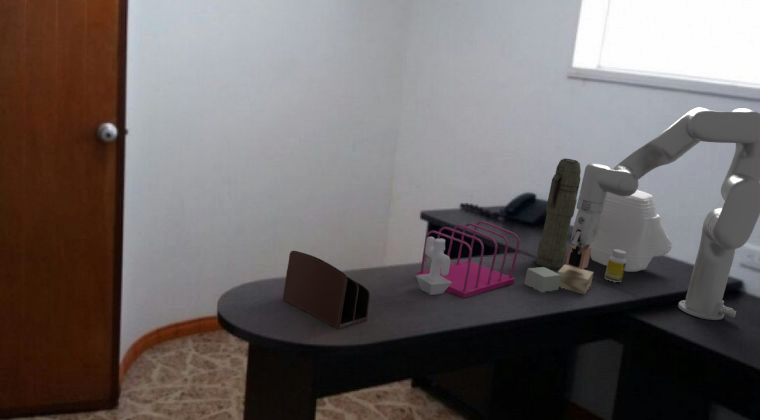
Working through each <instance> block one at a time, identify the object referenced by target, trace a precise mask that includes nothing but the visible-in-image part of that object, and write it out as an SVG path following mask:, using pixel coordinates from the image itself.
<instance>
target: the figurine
mask: <svg viewBox="0 0 760 420" xmlns="http://www.w3.org/2000/svg"><path fill="white" fill-rule="evenodd" d="M445 250H446V239H445V238H441V237H440V239H437V238H435V237H434V236H428V238H427V241H426V247H425V257H427V258H430V259H431V262H430V269H429V270H430V273H429V274H422V275H417V274H415V278H416V280H417V283H418V286H419V288H420V290H421V291H423V292H425V293H427V294H428V295H430V296H431V295H432V296H433V295H441V294H444V293H445V291H446V289H447V288H448V287H449V286H450V284H451V283H452V282H451V281H449V280H447V279H445V278H444V277H442V276H440V270H441V275H444V276H446V275H448V273H449V268H450V265H451V258H450V256H447V255H448V254H445V253H444V252H445Z"/></svg>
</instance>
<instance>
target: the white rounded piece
mask: <svg viewBox="0 0 760 420" xmlns="http://www.w3.org/2000/svg"><path fill="white" fill-rule="evenodd" d="M655 205H656V204H655V199H654V196H653V195H652V194H651V193H648V192H646V191H643V190H640V189H637V191H636V192H635V193H634V194H632V195H630V196H619V195H616V194H613V193H610V192H607V195H606V199H605V204H604V208H603V212H602V214H601V218H600V225H599V230H598V236H597V240H596V241H595V242H594V243H592V244H590V247H591V248H592V249H591V254H590V259H591V260H592V261H593V262H597V263H598V264H601V265H603V266H606V267H607V264H608V260H609V257H610V256H612V255H613V254H612V253H613V250H614V249H619V250H623V251H625V252H626V256H625V257H624V258H625V259H626V265H625V269H624V272H628V273H629V272H631V273H633V272H634V273H635V272H639V271H643V270H646V269H647V268H648V265H649V264H650V263H651V261H652V259H653V258H657V257H662V256H665V255H667V254H669V252H671V250H672V248H673V243H672V240H671V239H670V237H669V236H668V234H667V233H666V231H665V227H664V226H663V223H662V221H661V217H660V214H658V213H657V210H656V206H655Z"/></svg>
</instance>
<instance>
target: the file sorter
mask: <svg viewBox="0 0 760 420" xmlns="http://www.w3.org/2000/svg"><path fill="white" fill-rule="evenodd" d="M480 224H485V225H487V226H489V227H493V228H496V229H498V230H500V231H503V232H506V233H508V234H511V235H513V236H514V238H516V247H515V251H514V257H513V260H512V264H511V269H510V272H509V275H508V274H504V272H503V271H504V268H505V263H506V258H507V253H508V249H509V241H508V239H507V237H506V236H505V235H504V234H501V233H499V232H497V231H493V230H492V229H491V230H490V229H488V228H485V227H483V226H480ZM469 226H472V227H474V228H471V227H469ZM459 227H460V228H463V230H462V231H460V230H457V229H458V228H459ZM477 228H478V229H481V230H483V231H486V232H489V233H492V234H494V235H495V236H499V237H501V238H503V240H504V243H505V248H504V254H503V259H502V264H501V267H500V272H499V271H497V270H494V266H495V262H496V257H497V253H498V247H499V246H498V242H497V240H495V238H493V237H492V236H490V235H487V234H485V233H483V232H481V231H479V230H478V229H477ZM443 230H447V231H451V235H448V234H445V233H442V231H443ZM466 230H468V231H471V232H473V235H470V234H467V233H466ZM433 233H434V234H437V238H436V239H441V236H442V237H445V238H447V239H450V242H449V246H448V250H447V254H446V255H447V256H449V257H450V256H451V251H452V245H453V241H456V242H459V243H460V245H459V251H458V256H457V261H456V263H450V268H449V273H448V275H446V276H444V275H441V270H440V276H442V277H444V278H445V279H447V280H449V281H451V282H452V283H451V284H450V286H449V287H448V288H447V289H446V290H445V291H447V292H449V293H451V294H454V295H456V296H459V297H461V298H464V299H465V298H468V297H472V296H475V295H478V294H481V293H485V292H489V291H491V290H496V289H499V288H503V287H505V286H506V287H507V286H509V285H512V284H514V283H515V277H513V275H514V270H515V269H514V268H515V265H516V261H517V257H518V252H519V248H520V247H519V246H520V237H518V235H517V234H516V233H515V232H513V231H510V230H508V229H506V228H503V227H500V226H497V225H495V224H492V223H490V222H487V221H484V220H482V221H478V222H477V223H472V222H471V223H467V224H465V225H463V224H458V225H455V226H454V227H453V228H452V227H447V226H443V227H441V228H439V230H438V231H437V230H430V231H428V232H427V234H426V236H425V239H424V240H425V241H424V246H423V252H422V253H423V254H422V260H421V265H420V271H418V272H416V275H422V274H429V273H430V269H427V270H424V265H425V258H426V254H425V247H426V241H427V238H428V237H430V235H431V234H433ZM455 233H456V234H460V235H461V239H459V238H455V237H454V236H455ZM476 234H478V235H480V236H482V237H485V238H487V239H489V240H491V241H492V242H493V244H494V252H493V256H492V262H491V265H490V267H486V266H484V265H482V263H483V258H484V251H485V247H484V243H483V241H482V240H481V239H480V238H478V237H476ZM465 237H467V238H470V239H471V243H470V244H469V243H468V242H466V241H465V240H464V239H465ZM475 240H476V241H477V242H479V243H480V246H481V250H480V251H481V252H480V257H479V263H477V262H473V261H472V256H473V249H474V242H475ZM463 245H465V246H467V248H468V250H469V253H468V259H467V260H464V261H460V260H461V255H462V249H463Z"/></svg>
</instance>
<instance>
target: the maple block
mask: <svg viewBox="0 0 760 420" xmlns="http://www.w3.org/2000/svg"><path fill="white" fill-rule="evenodd" d="M557 273H558V274H560V275H561V278H560V283H559V287H561V288H560V289H563V288H565V289H564V290H566V289H570V290H574V291H578V292H582V293H586V294H587V292H588V291H589V290H590V288H591V285H592V282H593V277H594V276H593V275H594V273H595V272H594V271H591V270H586V269H585V268H584V269H582V270H581V269H578V268H575V267H572V266H569V265H566V263H565V264H563V265H562V268H560V269H558V271H557ZM589 287H590V288H589ZM570 290H569V291H570ZM587 290H588V291H587ZM574 291H573V292H574ZM586 291H587V292H586Z"/></svg>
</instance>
